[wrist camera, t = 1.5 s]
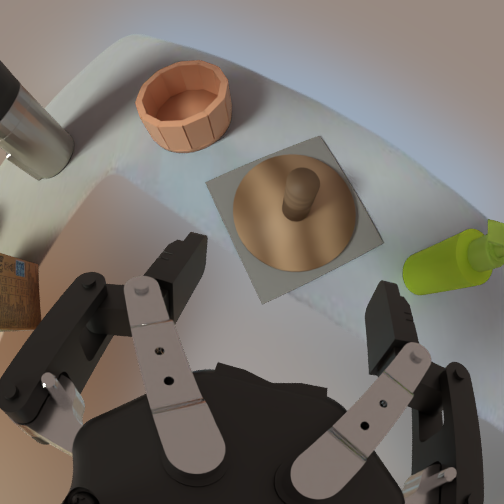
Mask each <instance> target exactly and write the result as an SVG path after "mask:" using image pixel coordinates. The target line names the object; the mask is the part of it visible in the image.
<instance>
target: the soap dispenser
mask: <svg viewBox="0 0 504 504" xmlns="http://www.w3.org/2000/svg"><path fill="white" fill-rule="evenodd" d="M503 264H504V223H500V222H498V221H494V220H490V219H488V234H486V235H484V234H483V233H481V232H480V231H478V230H476V229H467V230H465V231H463V232H461V233H459V234H457V235H455V236H453V237H450V238H448V239H446V240H444V241H442V242H440V243H437V244H435V245H433V246H431V247H429V248H427V249H424V250H422V251H420V252H418V253H415V254H413V255H411V256H410V257H409V258H408V259H407V260H406V262H405V264H404V267H403V280H404V283H405V285H406V287H407V288H408V289H409V290H410V291H411V292H412V293H414V294H416V295H426V294H432V293H438V292H444V291H450V290H455V289H461V288H466V287H471V286H477V285H481V284H483V283H485V282H486V281H487V280H488V279H489V277H490V276H491V273H492V270H493V269H495V268H498V267H501V266H502V265H503Z"/></svg>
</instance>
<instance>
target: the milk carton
mask: <svg viewBox="0 0 504 504" xmlns="http://www.w3.org/2000/svg"><path fill="white" fill-rule="evenodd" d="M40 322H41V312H40V298H39V275H38V264H35V263H32V262H28V261H25V260H21V259H18V258H15V257H11V256H8V255H5V254H2V253H0V331H26V330H27V331H28V330H35V329H36V327H37V326H38V325H39V323H40Z"/></svg>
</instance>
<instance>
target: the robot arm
mask: <svg viewBox="0 0 504 504" xmlns="http://www.w3.org/2000/svg"><path fill="white" fill-rule="evenodd" d="M0 148H2V149H3V150H4V151H6V158H7V159H8V160H9V161H10V162H12V163H13V164H15V165H16V166H18V167H19V168H20V169H22V170H23V171H25V172H26V173H28V174H29V175H31V176H32V177H34V178H35V179H37V180H40V179H41V178H50V177H53V176H55V175H56V174H58V173H59V172H60V171H61V170H62V169H63V168H64V167H65V166H66V164H67V163H68V161H69V159H70V157H71V155H72V152H73V148H74V142H73V139H72V137H71V136H70V135H69V134H68V133H67V131H66V130H64V129H63V128H62V127H61V126H60V125H59V123H58V122H57V121H56V120H55V119H54V118H53V117H52V116H51V115H50V114H49V113H48V112H47V111H46V110H45V109H44V108H43V107H42V106H41V105H40V104H39V103H38V102H37V101H36V100H35V99H34V98H33V96H32V95H31V94H30V93H29V92H28V91H27V90H26V89H25V88H24V87H23V86H22V85H21V84H20V82H19V81H18V80H17V79H16V78H15V77H14V76H13V75H12V73H11V72H10V71H9V70H8V69H7V68H6V66H5V65H4V64H3V63H2V62H1V61H0ZM207 240H208V238H207V236H206V235H202V234H198V233H194V232H190V234H189V235H188V236H187V237H186V239H185V240H184V241H181V240H176V241H174V242H173V243H171V244H169V245H168V246H167V247H166V248H165V250H164V251H163V253H161V254H160V256H159V258H157V259H156V261H155V262H154V263H153V264H152V265H151V267H150V268H149V269H148V271H147V272H146V273H145V274H144V275H143V276H137V277H134V278H132V279H130V280H128V281H127V282H126V284H125V285H114V284H106V281H105V278H104V277H103V275H101V274H99V273H96V272H89V273H84V274H82V275H80V276H79V277H77V278H76V279H75V281H74V282H73V283H72V284H71V285H70V286H69V288H68V289H67V290H66V291H65V292H64V294H63V295H62V296H61V297H60V298H59V300H58V301H57V302H56V303H55V304H54V306H53V307H52V308H51V309H50V311H49V312H48V313H47V314H46V316H45V317H44V318H43V320H42V321H41V322H40V323H39V325H38V326H37V327H36V329H35V330H34V331H33V333H32V334H31V335H30V337H29V338H28V339H27V341H26V342H25V343H24V345H23V346H22V348H21V349H20V351H19V352H18V353H17V355H16V356H15V358H14V359H13V361H12V362H11V364H10V365H9V366H8V368H7V369H6V371H5V373H4V374H3V375H2V377H1V379H0V408H1V409H2V410H3V411H4V412H5V413H6V414H7V415H8V416H9V418H10V419H11V420H12V421H13V422H14V423H15V424H16V425H17V426H18V427H19V428H20V429H22V430H23V431H24V432H25V433H26V434H28V435H29V436H31V437H32V438H33V439H35V440H36V441H37V442H39V443H41V444H51V445H53V446H55V447H57V448H58V449H60V450H61V451H63V452H65V453H67V454H68V455H70V456H72V457H73V478H72V484H71V488H70V491H69V493H68V494H67V496H66V498H65V499H64V501H63V502H62V504H483V501H484V480H483V479H484V478H483V459H482V447H481V438H480V430H479V422H478V415H477V409H476V403H475V397H474V392H473V387H472V382H471V378H470V374H469V372H468V370H467V369H466V368H465V367H464V366H463V365H462V364H460V363H457V362H452V363H450V364H449V365H448V366H447V367H446V368H444V367H441V366H439V365H437V364H435V363H433V362H431V356H430V354H429V352H428V351H427V349H426V348H425V347H423V346H422V345H420V344H419V341H418V337H417V333H416V328H415V324H414V322H413V321H414V320H413V316H412V313H411V309H410V305H409V304H408V302H407V301H406V299H405V298H404V297H402V296H400V293H399V289H398V286H397V284H395V283H391V282H387V281H383V280H382V281H380V282H379V284H378V286H377V288H376V290H375V292H374V294H373V296H372V298H371V300H370V302H369V304H368V306H367V308H366V312H365V324H366V335H367V347H368V364H369V374H370V375H377V376H378V379H377V380H376V381H375V382H374V383H373V384H372V386H371V387H370V388H369V389H368V390H367V391H366V392H365V393H364V394H363V395H362V396H361V398H360V399H359V400H358V401H357V402H356V403H355V404H354V405H353V406H352V407H351V408H350V409H349V410H348V411H346V409H345V408H344V407H343V406H342V405H340V404H339V403H338V402H336V401H335V400H333V399H331V398H329V397H327V388H324V387H318V386H313V385H308V384H303V383H271V382H268V381H266V380H264V379H262V378H260V377H258V376H256V375H254V374H252V373H250V372H248V371H246V370H244V369H240V368H236V367H233V366H229V365H225V364H222V363H217V366H216V369H215V370H211V369H209V370H198V371H193V372H192V371H191V368H190V365H189V363H188V360H187V358H186V355H185V352H184V349H183V347H182V344H181V341H180V338H179V336H178V333H177V330H176V327H175V324H176V322H177V320H178V318H179V316H180V315H181V313H182V311H183V309H184V307H185V306H186V304H187V302H188V300H189V298H190V297H191V295H192V293H193V291H194V290H195V288H196V286H197V284H198V283H199V281H200V279H201V277H202V275H203V273H204V269H205V265H206V253H207ZM114 335H117V336H129V337H133V342H134V346H135V351H136V355H137V359H138V363H139V367H140V372H141V375H142V379H143V383H144V386H145V390H146V394H144V395H143V396H140V397H138V398H136V399H134V400H132V401H130V402H128V403H126V404H123V405H121V406H119V407H117V408H115V409H113V410H110V411H108V412H106V413H104V414H101V415H99V416H97V417H95V418H92V419H91V420H89V421H88V422H86V423H85V424H84V425H83V422H82V418H83V413H84V410H85V404H84V401H83V399H82V397H81V395H80V394H81V392H82V390H83V388H84V387H85V385H86V383H87V381H88V379H89V377H90V376H91V374H92V372H93V370H94V368H95V367H96V365H97V363H98V361H99V360H100V358H101V356H102V354H103V353H104V351H105V349H106V347H107V346H108V344H109V342H110V341H111V339H112V337H113V336H114ZM407 406H408V407H411V408H412V438H413V439H412V474H411V476H410V477H409V478H408V479H407V481H406V482H405V484H404V488H403V490H402V491H401V489H400V487H399V486H398V484H397V483H396V481H395V480H394V478H393V477H392V476H391V474H390V473H389V471H388V470H387V468H386V467H385V465H384V464H383V462H382V461H381V460H380V458H379V457H378V455H377V454H376V452H375V451H374V449H375V448H376V447H377V446H378V444H379V443H380V442H381V441H382V440H383V438H384V437H385V436H386V434H387V433H388V432H389V430H390V429H391V428H392V427H393V425H394V424H395V422H396V421H397V420H398V418H399V417H400V416H401V414H402V413H403V411H404V410H405V408H406V407H407ZM442 410H443V411H444V424H443V422H442Z"/></svg>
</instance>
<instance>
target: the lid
mask: <svg viewBox="0 0 504 504" xmlns="http://www.w3.org/2000/svg"><path fill="white" fill-rule="evenodd" d="M233 218H234V223H235V227H236V230H237V233H238V235H239V237H240V239H241V241H242V243H243V244H244V246H245V247H246V248H247V250H248V251H249V252H250V253H251V254H252V255H253V256H254V257H256V258H257V259H258V260H259V261H261V262H263V263H264V264H266V265H268V266H270V267H273V268H275V269H278V270H282V271H288V272H304V271H310V270H314V269H317V268H319V267H322V266H324V265H326V264H327V263H329V262H331V261H332V260H333V259H334V258H336V257H337V256H338V255H339V254H340V253H341V252H342V251H343V250H344V248H345V247H346V245H347V244H348V242H349V240H350V238H351V236H352V233H353V230H354V226H355V218H356V212H355V204H354V200H353V197H352V194H351V192H350V190H349V188H348V186H347V184H346V183H345V181H344V180H343V179H342V177H341V176H340V175H339V174H338V173H337V172H336V171H335V170H334V169H332V168H331V167H330V166H328V165H327V164H325V163H323V162H321V161H319V160H317V159H314V158H312V157H308V156H304V155H295V154H288V155H280V156H275V157H272V158H269V159H267V160H265V161H263V162H261V163H259V164H258V165H256V166H255V167H254V168H252V169H251V170H250V171H249V172H248V173H247V174H246V175H245V176H244V178H243V179H242V181H241V182H240V184H239V186H238V188H237V191H236V194H235V197H234V202H233Z"/></svg>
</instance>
